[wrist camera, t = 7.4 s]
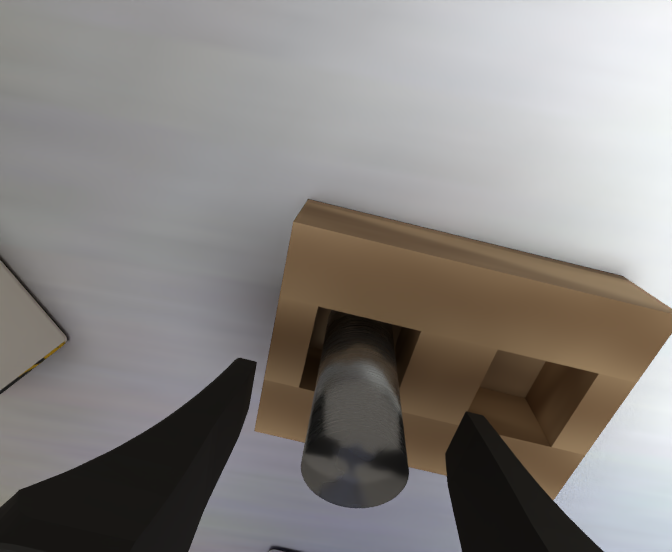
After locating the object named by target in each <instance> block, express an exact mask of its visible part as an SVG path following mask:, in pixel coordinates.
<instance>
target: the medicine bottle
mask: <svg viewBox="0 0 672 552" xmlns="http://www.w3.org/2000/svg"><path fill="white" fill-rule="evenodd" d="M66 341H67V338H66V336H65V334H64V333H63V332H62V331H61V330H60V329H59V327H58V326H57V325H56V324H55V323H54V322H53V320H52V319H51V318H50V317H49V316H48V315H47V314H46V312H45V311H44V310H43V309H42V308H41V307H40V305H39V304H38V303H37V302H36V301H35V300H34V298H33V297H32V296H31V295H30V294H29V293H28V292H27V290H26V289H25V288H24V287H23V286H22V285H21V283H20V282H19V281H18V280H17V279H16V278H15V276H14V275H13V274H12V273H11V272H10V271H9V269H8V268H7V267H6V266H5V265H4V264H3V263H2V261H1V260H0V394H1V393H3V392H4V391H5V390H7V389H8V388H9V387H10V386H12V385H13V384H14V383H16V382H17V381H18V380H19V379H21V378H22V377H23V376H25V375H26V374H27V373H28V372H30V371H31V370H32V369H34V368H35V367H36V366H37V365H39V364H40V363H41V362H43V361H44V360H45V359H46V358H48V357H49V356H50V355H52V354H53V353H54V352H55V351H57V350H58V349H59V348H61V347H62V346H63V345H64V344H65V343H66Z"/></svg>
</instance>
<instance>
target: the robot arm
mask: <svg viewBox="0 0 672 552" xmlns="http://www.w3.org/2000/svg"><path fill="white" fill-rule="evenodd" d="M256 364H257V362H255V361H251V360H247V359H242V358H238V359H236V360H235V361H234V362H233V363H232V364H231V365H230V366H229V367H228V368H227V369H226V370H225V371H224V372H222V373H221V374H220V375H219V376H218V377H217V378H216V379H215V380H214V381H213V382H212V383H210V384H209V385H208V386H207V387H206V388H204V389H203V390H202V391H201V392H200V393H199V394H197V395H196V396H195V397H194V398H192V399H191V400H190V401H188V402H187V403H186V404H184V405H183V406H182V407H180V408H179V409H178V410H176V411H175V412H174V413H172V414H171V415H169V416H168V417H167V418H165V419H164V420H162V421H161V422H159V423H158V424H156V425H154V426H153V427H151V428H150V429H148V430H147V431H145V432H143V433H142V434H140V435H138V436H136V437H135V438H133V439H131V440H129V441H128V442H126V443H124V444H122V445H121V446H119V447H117V448H115V449H113V450H111V451H109V452H107V453H105V454H103V455H101V456H99V457H97V458H95V459H93V460H91V461H88V462H86V463H84V464H82V465H80V466H78V467H76V468H74V469H71V470H69V471H67V472H64V473H62V474H59V475H57V476H54V477H52V478H49V479H47V480H44V481H41V482H39V483H36V484H34V485H31V486H29V487H26V488H23V489H20V490H19V491H18V492H17V493H16V494H15V495H14V496H13V497H12V498H10V499H9V500H8V501H7V502H6V503H5V504H4V505H2V506H1V507H0V552H188V551H189V548H190V546H191V543H192V540H193V538H194V535H195V532H196V530H197V527H198V524H199V522H200V519H201V516H202V514H203V512H204V509H205V507H206V505H207V502H208V500H209V498H210V496H211V494H212V492H213V490H214V488H215V486H216V483H217V481H218V479H219V477H220V475H221V473H222V471H223V469H224V467H225V465H226V463H227V460H228V458H229V456H230V454H231V452H232V450H233V448H234V446H235V444H236V442H237V439H238V437H239V435H240V432H241V429H242V426H243V424H244V421H245V418H246V415H247V412H248V409H249V404H250V399H251V393H252V387H253V381H254V375H255V370H256ZM445 460H446V472H447V482H448V488H449V493H450V498H451V503H452V507H453V512H454V516H455V521H456V525H457V530H458V534H459V539H460V544H461V548H462V552H604V551H603V550H602V549H600V548H599V547H598V546H597V545H596V544H595V543H594V542H593V541H592V540H591V539H590V538H589V537H588V536H587V535H586V534H585V533H584V532H583V531H582V530H581V529H580V528H579V527H578V526H577V525H576V524H575V523H574V522H573V521H572V520H571V519H570V518H569V517H568V516H567V515H566V514H565V513H564V512H563V511H562V510H561V509H560V508H559V506H558V505H557V504H556V503H555V502H554V501H553V500H552V499H551V498H550V496H549V495H548V494H547V493H546V492H545V491H544V490H543V488H542V487H541V486H540V485H539V484H538V483H537V482H536V480H535V479H534V478H533V477H532V476H531V474H530V473H529V472H528V471H527V469H526V468H525V467H524V466H523V465H522V463H521V462H520V461H519V460H518V458H517V457H516V456H515V455H514V453H513V452H512V451H511V449H510V448H509V447H508V446H507V444H506V443H505V442H504V441H503V439H502V438H501V437H500V435H499V434H498V433H497V432H496V430H495V429H494V428H493V426H492V425H491V424H490V423H489V422H488V420H487V419H486V418H485V417H484V416H483V415H480V414H475V413H471V412H467V411H466V412H465V414H464V416H463V418H462V420H461V422H460V424H459V426H458V428H457V430H456V432H455V434H454V436H453V438H452V440H451V443H450V445H449V447H448V449H447V451H446V453H445ZM268 552H284V551H280V550H274V549H273V550H270V551H268Z"/></svg>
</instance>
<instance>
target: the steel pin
mask: <svg viewBox="0 0 672 552" xmlns="http://www.w3.org/2000/svg"><path fill="white" fill-rule="evenodd" d="M301 472H302V476H303V478H304V481H305V482H306V484H307V486H308V487H309V488H310V489H311V490H312V491H313V492H314V493H315V494H316V495H318V496H319V497H320V498H322V499H324V500H326V501H328V502H330V503H333V504H335V505H339V506H343V507H348V508H369V507H374V506H378V505H381V504H384V503H386V502H388V501H390V500H392V499H393V498H395V497H396V496H397V495H398V494H399V493H400V492H401V491H402V490H403V489H404V487H405V485H406V483H407V480H408V476H409V469H408V460H407V451H406V443H405V434H404V426H403V417H402V408H401V400H400V391H399V383H398V374H397V366H396V357H395V349H394V340H393V331H392V324H389V323H385V322H381V321H377V320H373V319H369V318H364V317H360V316H356V315H352V314H348V313H344V312H339V311H335V310H331V312H330V314H329V317H328V322H327V327H326V333H325V338H324V343H323V349H322V354H321V359H320V365H319V370H318V376H317V381H316V386H315V392H314V397H313V402H312V408H311V413H310V419H309V424H308V429H307V435H306V440H305V446H304V451H303V456H302V462H301Z"/></svg>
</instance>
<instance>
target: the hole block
mask: <svg viewBox="0 0 672 552" xmlns="http://www.w3.org/2000/svg"><path fill="white" fill-rule="evenodd" d="M331 310H335V311H339V312H344V313H348V314H352V315H356V316H360V317H364V318H369V319H373V320H377V321H381V322H385V323H389V324H392V331H393V340H394V349H395V357H396V366H397V374H398V383H399V391H400V400H401V408H402V417H403V426H404V434H405V443H406V451H407V460H408V467H411V468H416V469H420V470H424V471H429V472H433V473H437V474H441V475H446V476H447V472H446V460H445V453H446V451H447V449H448V447H449V445H450V443H451V440H452V438H453V436H454V434H455V432H456V430H457V428H458V426H459V424H460V422H461V420H462V418H463V416H464V414H465V412H466V411H467V412H471V413H475V414H480V415H483V416H484V417H485V418H486V419H487V420H488V422H489V423H490V424H491V425H492V426H493V428H494V429H495V430H496V432H497V433H498V434H499V435H500V437H501V438H502V439H503V441H504V442H505V443H506V444H507V446H508V447H509V448H510V449H511V451H512V452H513V453H514V455H515V456H516V457H517V458H518V460H519V461H520V462H521V463H522V465H523V466H524V467H525V468H526V469H527V471H528V472H529V473H530V474H531V476H532V477H533V478H534V479H535V480H536V482H537V483H538V484H539V485H540V486H541V487H542V488H543V490H544V491H545V492H546V493H547V494H548V495H549V496H550V498H551V499H552V500H554V499H555V497H556V496H557V494H558V493H559V492H560V490H561V489H562V487H563V486H564V485H565V483H566V482H567V480H568V479H569V477H570V476H571V475H572V473H573V472H574V470H575V469H576V468H577V466H578V465H579V463H580V462H581V461H582V459H583V458H584V456H585V455H586V453H587V452H588V451H589V449H590V448H591V446H592V445H593V444H594V442H595V441H596V439H597V438H598V437H599V435H600V434H601V432H602V431H603V429H604V428H605V427H606V425H607V424H608V422H609V421H610V420H611V418H612V417H613V415H614V414H615V413H616V411H617V410H618V408H619V407H620V406H621V404H622V403H623V401H624V400H625V398H626V397H627V396H628V394H629V393H630V391H631V390H632V389H633V387H634V386H635V384H636V383H637V382H638V380H639V379H640V377H641V376H642V374H643V373H644V372H645V370H646V369H647V367H648V366H649V365H650V363H651V362H652V360H653V359H654V358H655V356H656V355H657V353H658V352H659V350H660V349H661V348H662V346H663V345H664V343H665V342H666V341H667V339H668V338H669V336H670V335H671V334H672V309H671V308H670V307H668V306H667V305H665V304H664V303H662V302H661V301H659V300H658V299H656V298H655V297H653V296H652V295H650V294H649V293H647V292H646V291H644V290H643V289H641V288H640V287H638V286H637V285H635V284H634V283H632V282H631V281H629V280H628V279H626V278H625V277H623V276H620V275H616V274H612V273H608V272H604V271H600V270H595V269H591V268H587V267H583V266H579V265H575V264H571V263H567V262H563V261H559V260H555V259H551V258H546V257H542V256H538V255H534V254H530V253H526V252H522V251H518V250H514V249H510V248H506V247H501V246H497V245H493V244H489V243H485V242H481V241H477V240H473V239H469V238H465V237H461V236H457V235H452V234H448V233H444V232H440V231H436V230H432V229H428V228H424V227H420V226H416V225H412V224H407V223H403V222H399V221H395V220H391V219H387V218H383V217H379V216H375V215H371V214H367V213H363V212H358V211H354V210H350V209H346V208H342V207H338V206H334V205H330V204H326V203H322V202H318V201H314V200H309V199H308V200H307V202H306V203H305V205H304V206H303V208H302V209H301V211H300V212H299V214H298V215H297V217H296V218H295V220H294V221H293V226H292V232H291V237H290V242H289V248H288V253H287V258H286V264H285V269H284V275H283V280H282V285H281V291H280V296H279V301H278V307H277V312H276V318H275V323H274V328H273V334H272V339H271V345H270V350H269V355H268V361H267V366H266V371H265V377H264V382H263V388H262V393H261V398H260V404H259V409H258V414H257V420H256V425H255V431H256V432H261V433H265V434H269V435H274V436H278V437H282V438H286V439H291V440H295V441H299V442H304V443H305V440H306V435H307V429H308V424H309V419H310V413H311V408H312V402H313V397H314V392H315V386H316V381H317V376H318V370H319V365H320V359H321V354H322V349H323V343H324V338H325V333H326V327H327V322H328V317H329V314H330V312H331Z"/></svg>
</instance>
